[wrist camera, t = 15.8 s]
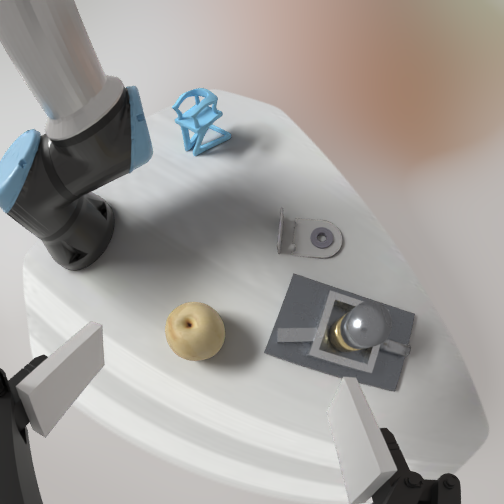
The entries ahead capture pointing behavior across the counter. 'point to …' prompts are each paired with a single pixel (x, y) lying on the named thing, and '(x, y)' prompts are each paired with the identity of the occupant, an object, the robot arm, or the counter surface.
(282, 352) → the coupling board
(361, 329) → the gold and grey cylinder
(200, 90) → the chair
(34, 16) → the robot arm
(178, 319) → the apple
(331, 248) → the bracket
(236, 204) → the counter surface
